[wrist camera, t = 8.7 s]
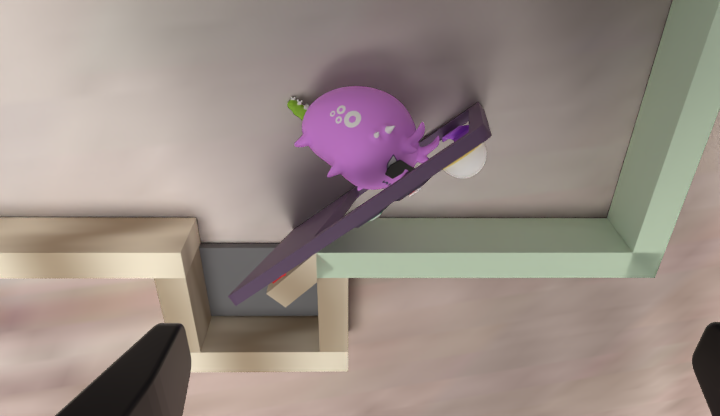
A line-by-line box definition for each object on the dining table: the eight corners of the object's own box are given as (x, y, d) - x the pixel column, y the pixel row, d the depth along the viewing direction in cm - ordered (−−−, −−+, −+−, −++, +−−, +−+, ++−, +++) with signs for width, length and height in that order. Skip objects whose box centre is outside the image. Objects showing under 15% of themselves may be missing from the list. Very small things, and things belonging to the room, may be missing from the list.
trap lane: (349, -393, 13) (349, -443, 11) (348, 331, 25) (348, 371, 23) (-280, -409, 13) (-402, -464, 11) (33, 332, 25) (5, 373, 23)
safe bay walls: (751, -129, 16) (811, -130, 14) (627, 241, 23) (654, 277, 21) (307, -136, 16) (300, -138, 14) (319, 241, 23) (316, 278, 21)
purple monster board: (247, 327, 16) (508, 161, 13) (138, 188, 16) (387, -17, 13) (309, 250, 23) (495, 126, 20) (233, 149, 22) (414, 6, 19)
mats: (4, -443, 12) (-4, -450, 12) (360, 303, 25) (360, 308, 24) (-227, -306, 14) (-238, -310, 13) (222, 342, 26) (221, 347, 25)
